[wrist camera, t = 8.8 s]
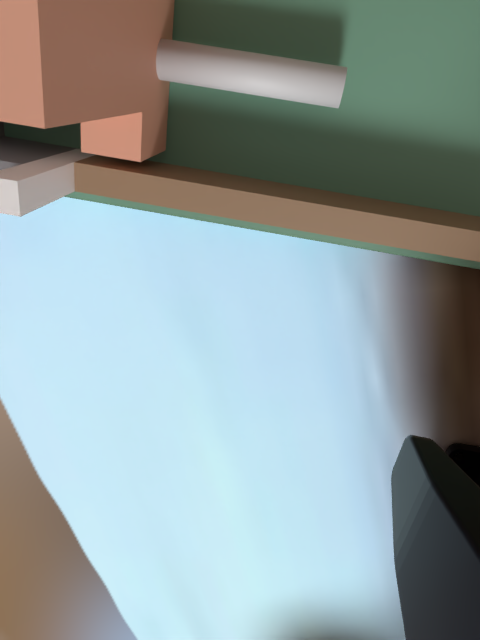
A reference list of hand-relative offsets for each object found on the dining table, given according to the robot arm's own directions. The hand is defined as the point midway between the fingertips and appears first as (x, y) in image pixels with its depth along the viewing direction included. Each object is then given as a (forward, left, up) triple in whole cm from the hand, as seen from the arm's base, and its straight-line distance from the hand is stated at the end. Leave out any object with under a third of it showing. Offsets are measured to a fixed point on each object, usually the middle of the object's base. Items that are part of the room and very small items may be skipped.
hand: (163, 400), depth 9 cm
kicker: (+1, -6, -11) cm, 13 cm away
